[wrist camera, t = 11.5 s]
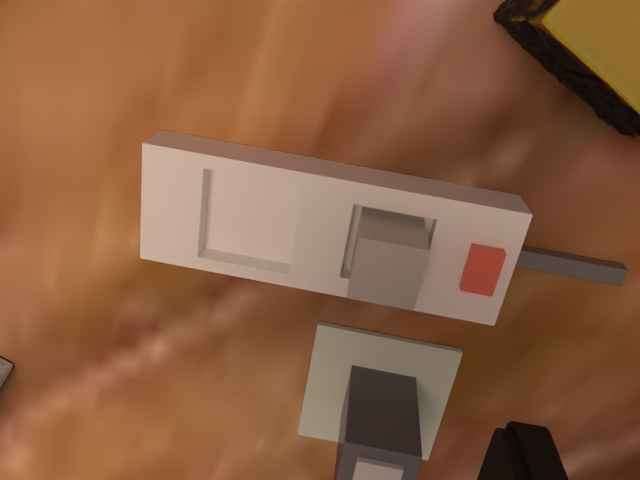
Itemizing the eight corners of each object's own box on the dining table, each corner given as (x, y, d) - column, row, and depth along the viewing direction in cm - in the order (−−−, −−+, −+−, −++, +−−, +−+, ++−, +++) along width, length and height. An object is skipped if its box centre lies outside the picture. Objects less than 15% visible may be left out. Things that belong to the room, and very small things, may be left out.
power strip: (642, 217, 35) (674, 245, 32) (597, 320, 39) (620, 356, 35) (163, 130, 37) (136, 146, 33) (159, 237, 40) (135, 263, 36)
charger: (415, 377, 42) (422, 462, 34) (402, 426, 44) (405, 516, 36) (351, 364, 42) (344, 446, 34) (341, 414, 44) (331, 501, 36)
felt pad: (462, 348, 41) (462, 352, 40) (427, 455, 46) (428, 460, 45) (318, 321, 41) (317, 324, 41) (298, 429, 46) (297, 434, 45)
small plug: (423, 217, 35) (429, 250, 30) (410, 272, 37) (413, 311, 32) (362, 206, 35) (358, 237, 31) (351, 260, 37) (346, 298, 32)
